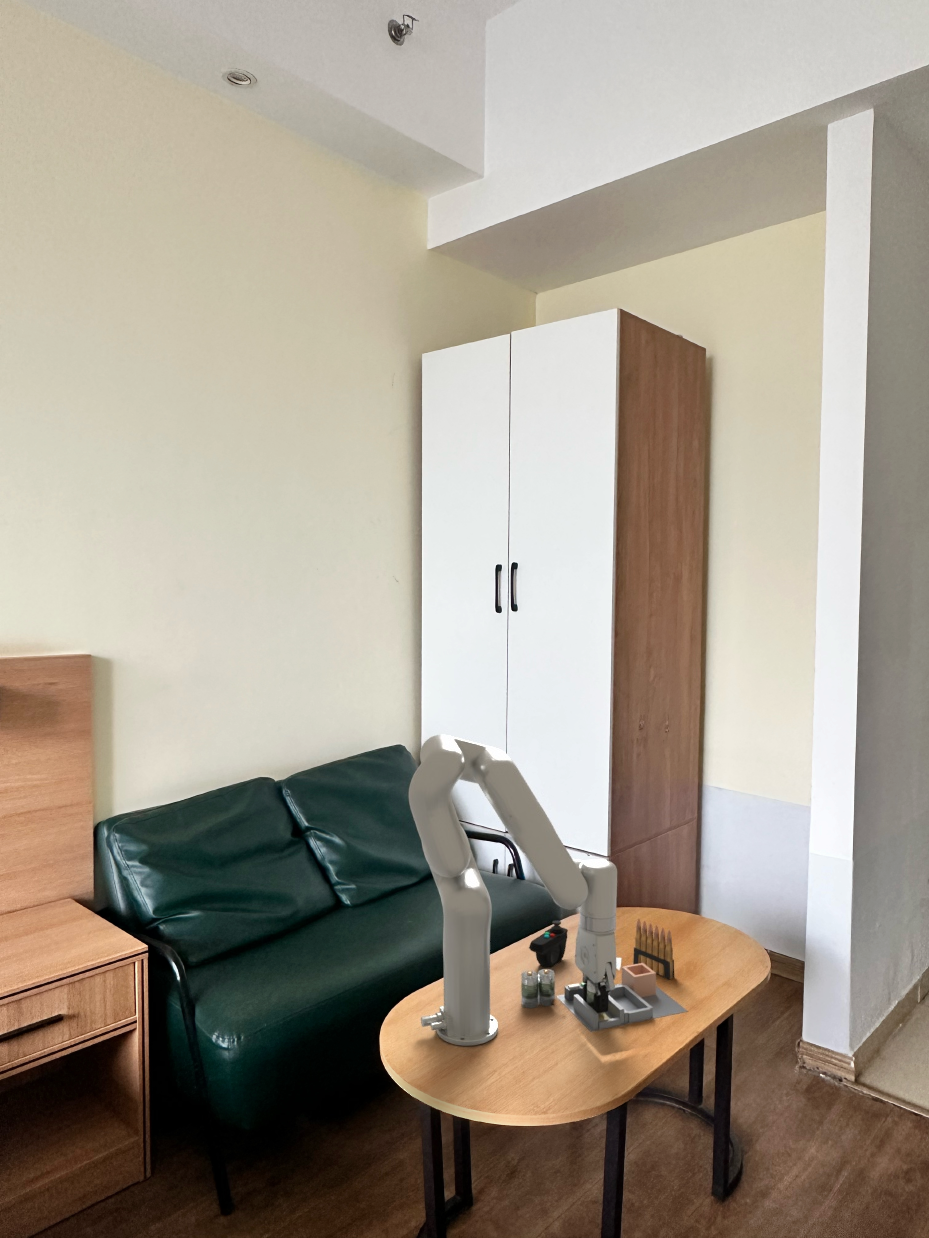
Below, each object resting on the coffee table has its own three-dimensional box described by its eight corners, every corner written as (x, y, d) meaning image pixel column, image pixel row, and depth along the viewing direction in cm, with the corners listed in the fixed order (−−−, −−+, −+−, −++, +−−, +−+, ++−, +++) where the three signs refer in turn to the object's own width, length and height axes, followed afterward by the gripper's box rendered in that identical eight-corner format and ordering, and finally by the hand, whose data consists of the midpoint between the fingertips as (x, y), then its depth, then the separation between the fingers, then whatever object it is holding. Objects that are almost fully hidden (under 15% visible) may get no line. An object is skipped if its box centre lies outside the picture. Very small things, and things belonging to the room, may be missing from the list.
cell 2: (542, 1007, 191) (542, 975, 190) (535, 999, 194) (535, 968, 194) (557, 1004, 192) (557, 972, 192) (550, 996, 195) (550, 965, 195)
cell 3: (591, 1017, 183) (592, 984, 182) (583, 1009, 186) (584, 976, 186) (607, 1014, 184) (608, 981, 183) (598, 1006, 187) (599, 973, 187)
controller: (570, 960, 213) (570, 920, 213) (542, 979, 204) (542, 937, 203) (555, 956, 216) (555, 915, 215) (526, 974, 206) (526, 932, 206)
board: (590, 1036, 179) (590, 1016, 179) (555, 1000, 194) (555, 982, 194) (688, 1015, 187) (688, 997, 186) (647, 982, 202) (647, 965, 202)
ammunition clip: (632, 968, 209) (632, 918, 209) (637, 965, 210) (638, 916, 210) (669, 984, 201) (669, 932, 200) (674, 981, 202) (675, 930, 202)
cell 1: (525, 1009, 190) (525, 977, 190) (518, 1001, 193) (518, 969, 193) (541, 1006, 191) (540, 974, 191) (534, 998, 195) (533, 967, 194)
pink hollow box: (634, 998, 192) (634, 976, 192) (621, 987, 197) (621, 966, 197) (655, 994, 194) (655, 972, 194) (642, 983, 199) (642, 962, 199)
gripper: (563, 908, 190) (561, 991, 191) (601, 938, 175) (598, 1029, 176) (594, 904, 193) (592, 986, 194) (634, 934, 177) (631, 1023, 178)
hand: (595, 1006), depth 185 cm, fingers closed on cell 3, 3 cm apart
